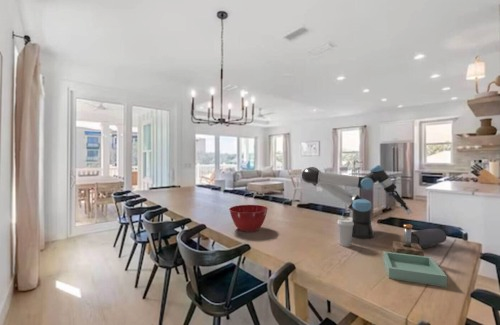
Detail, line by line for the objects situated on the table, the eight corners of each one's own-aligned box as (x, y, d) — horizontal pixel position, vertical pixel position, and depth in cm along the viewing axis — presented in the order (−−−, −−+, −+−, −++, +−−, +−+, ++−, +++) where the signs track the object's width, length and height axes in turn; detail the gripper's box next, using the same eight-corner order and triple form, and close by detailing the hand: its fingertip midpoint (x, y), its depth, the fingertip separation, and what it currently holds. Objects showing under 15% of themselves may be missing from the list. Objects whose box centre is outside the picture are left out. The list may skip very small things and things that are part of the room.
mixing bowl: (222, 232, 178) (222, 210, 178) (239, 222, 205) (239, 203, 204) (260, 237, 168) (260, 213, 167) (272, 225, 194) (272, 205, 194)
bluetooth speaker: (431, 241, 159) (431, 225, 159) (447, 246, 150) (447, 229, 150) (405, 246, 151) (405, 229, 151) (420, 251, 142) (421, 234, 142)
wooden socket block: (396, 259, 131) (396, 248, 131) (392, 251, 142) (392, 241, 142) (423, 263, 127) (424, 251, 126) (417, 254, 138) (418, 243, 138)
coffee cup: (353, 243, 156) (353, 218, 156) (354, 248, 147) (354, 222, 147) (336, 241, 159) (337, 217, 159) (336, 246, 150) (337, 221, 150)
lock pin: (403, 254, 133) (404, 225, 133) (402, 251, 137) (402, 223, 136) (412, 255, 132) (413, 226, 131) (410, 252, 135) (411, 224, 135)
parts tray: (388, 278, 111) (388, 268, 111) (382, 259, 131) (383, 251, 131) (446, 287, 104) (446, 276, 104) (431, 266, 123) (431, 257, 123)
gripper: (396, 183, 164) (418, 212, 159) (390, 181, 187) (409, 205, 183) (385, 190, 166) (406, 218, 162) (380, 186, 189) (399, 211, 185)
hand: (408, 211), depth 172 cm, fingers open, 13 cm apart
